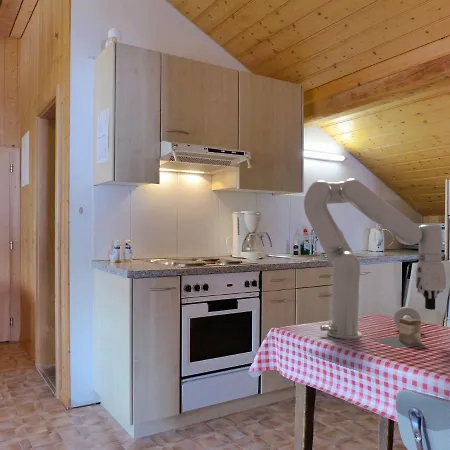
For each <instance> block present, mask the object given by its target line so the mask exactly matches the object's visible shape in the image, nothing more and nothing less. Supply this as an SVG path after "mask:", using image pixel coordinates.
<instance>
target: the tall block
mask: <svg viewBox="0 0 450 450" xmlns="http://www.w3.org/2000/svg"><path fill="white" fill-rule="evenodd" d="M421 328H422V320H417V319H413V318H411V317H403V318H400V322H399V328H398V332H399V333H398V337H399V341H402V342H405V343H408V344H416V343H421V334H422V333H421V330H422V329H421Z"/></svg>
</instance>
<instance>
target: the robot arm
mask: <svg viewBox="0 0 450 450" xmlns="http://www.w3.org/2000/svg"><path fill="white" fill-rule="evenodd" d="M345 203H348V204H350V205H351V206H352V207H355V209H357V210H358V211H359V212H360V213H362V214H363V215H364V216H365V217H366V218H368V219H369V220H371V221H372V222H374V223H377V224H379V225H381V226H383V227H384V228H385V229H387V230H388V231H389V232H391V233H392V234H393V235H395V238H396V240H397V241H398V242H399V243H400V244H403V245H409V246H414V245H417V244H418V255H417V257H416V258H417V260H418V262H417V265H416V270H415V271H416V272H415V288H416V289H417V291H416V292H417V293H418V294H421V295H422V296H423V298H424V301H425V302H424V308H425V309H426V310H431V311H432V310H434V311H435V310H436V299H437V298H438V295H439V294H441V293H443V292H444V290H445V289H446V287H447V279H446V269H445V265H444V262H443V261H442V227H441V226H440V224H421V225H418V224H417V223H415V222H414V221H413V220H411V219H410V218H409V217H407V216H406V215H405V214H403V212H401V211H400V210H398V209H396V208H395V207H393V205H391V204H390V203H389V202H387V201H386V200H384V199H383V198H381V196H379V195H378V194H377V193H375V192H374V191H373V190H371V189H370V188H369V187H367V185H365V184H364V183H362V181H359V180H358V179H356V178H348V179H346V180H344V181H339V182H327V181H326V180H320V179H319V180H316V181H314V182H313V183H312V184H311V185H309V188H308V189H307V191H306V193H305V195H304V199H303V209H304V213H305V216H306V218H307V221H308V222H309V224H310V226H311V228H312V230H313V231H314V234H315V235H316V238H317V239H318V241H319V245H320V246H321V248H322V249H323V251H324V253H325V255H326V256H327V258H328V261H330V263H331V265H332V266H333V268H332V271H333V272H332V273H333V274H332V303H331V304H332V305H331V308H332V309H331V310H332V311H331V322H330V321H329V322H328V323H329V324H327V325H320V327H319V328H320V329H319V330H320V331H321V332H325V331H327V332H326V334H327V335H328V336H329V337H332V338H336V339H342V340H343V339H344V340H353V339H354V340H357V339H360V338H362V337H363V334H362V332H360V331H359V300H360V299H359V296H360V295H359V293H360V292H359V291H360V277H361V262H360V259H359V258H358V256H357V255H356V254H355V253H354V252H353V250H352V248H351V247H350V245H349V243H348V241H347V240H346V238H345V236H344V233H343V231H342V230H341V229H340V227H339V226H338V225H337V223H336V221H335V220H334V217H333V216H332V214H331V212H330V210H329V207H328V205H329V204H345Z"/></svg>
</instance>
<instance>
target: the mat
mask: <svg viewBox="0 0 450 450" xmlns="http://www.w3.org/2000/svg"><path fill="white" fill-rule="evenodd" d="M372 340H373V341H376V342H379V343H380V344H381V343H382V344H384V345H387V346H389V347H391V348H406V347H418V346H419V347H420V346H427V344H425V343H423V342H420V343H416V344H408V343H405V342H402V341H399V336H393V337H391V336H390V337H378V338H377V337H376V338H372Z"/></svg>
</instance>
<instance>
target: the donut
mask: <svg viewBox="0 0 450 450" xmlns="http://www.w3.org/2000/svg"><path fill="white" fill-rule="evenodd" d="M405 316H409V318H413V319H417V320H421V315H420V314H419V312H418V311H417V310H416V309H415V308H413V307H411V306H402V307H399V308H398V309H397V310H396V311H395V312H394V315H393V323H394V325H395V326H396V328H398V329H399V322H400V318H404V317H405ZM421 321H422V320H421Z"/></svg>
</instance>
